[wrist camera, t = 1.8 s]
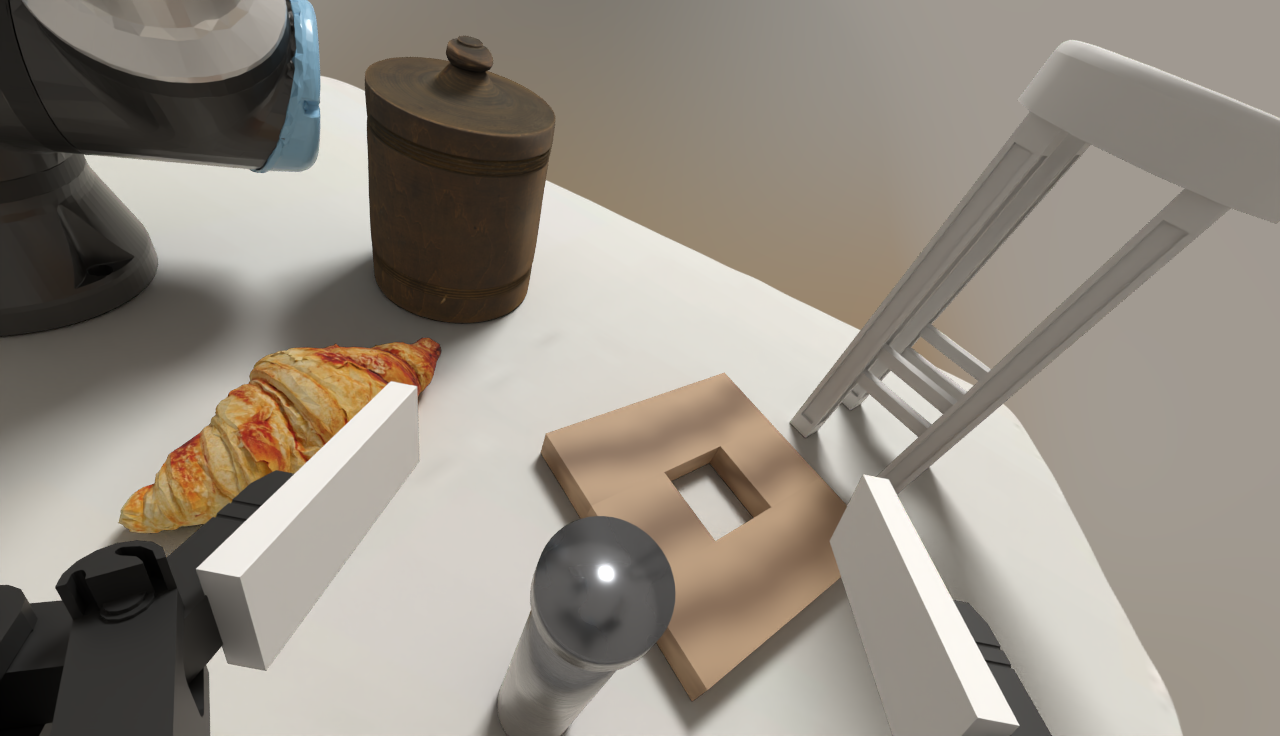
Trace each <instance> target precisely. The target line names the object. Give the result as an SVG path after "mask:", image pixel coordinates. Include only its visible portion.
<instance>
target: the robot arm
mask: <svg viewBox="0 0 1280 736" xmlns="http://www.w3.org/2000/svg"><path fill="white" fill-rule="evenodd" d="M319 103H320V61H319V43H318V32H317V22H316V15H315V12H314V9H313V6H312V5H311V3H310V2H309V1H308V0H0V336H6V335H16V334H25V333H32V332H38V331H44V330H49V329H54V328H58V327H62V326H66V325H70V324H74V323H77V322H81V321H84V320H87V319H90V318H93V317H95V316H98V315H101V314H103V313H105V312H108V311H110V310H112V309H114V308H116V307H118V306H120V305H122V304H124V303H125V302H127V301H129V300H130V299H132V298H133V297H135V296H136V295H137V294H139V293H140V292H141V291H142V290H143V289H144V288H145V287H146V286H147V285H148V284H149V283H150V282H151V280H152V279H153V277H154V276H155V273H156V271H157V267H158V258H157V254H156V252H155V249H154V247H153V244H152V242H151V239H150V237H149V234H148V232H147V231H146V229H145V228H144V226H143V224H142V223H141V222H140V221H139V220H138V219H137V218H136V217H135V215H134V214H133V213H132V212H131V211H130V210H129V209H128V208H127V207H126V206H125V205H124V204H123V203H122V201H121V200H120V199H119V198H118V197H117V196H116V195H115V194H114V193H113V192H112V191H111V190H110V188H109V187H108V186H107V185H106V184H105V183H104V182H103V181H102V180H101V179H100V178H99V177H98V175H97V174H96V173H95V172H94V171H93V170H92V169H91V168H90V166H89V165H88V163H87V161H86V159H85V157H84V155H83V154H85V155H98V156H109V157H120V158H132V159H143V160H154V161H165V162H176V163H188V164H199V165H210V166H221V167H233V168H244V169H250V170H251V171H253V172H257V173H265V172H267V171H289V172H300V171H304V170H307V169H309V168H310V167H311V166H312V165H313V164H314V163H315V161H316V159H317V156H318V151H319V141H320V108H319ZM418 463H419V427H418V394H417V386H413V385H408V384H402V383H397V382H392V381H391V382H390V383H389V384H387V385H386V386H385V387H384V388H383V389H382V390H381V391H380V392H379V393H378V394H377V395H376V396H375V397H374V398H373V399H372V400H371V401H370V402H369V403H368V404H367V405H366V406H365V407H364V408H363V409H362V410H360V411H359V412H358V413H357V414H356V415H355V416H354V417H353V418H352V419H351V420H350V421H349V422H348V423H347V424H346V425H345V426H344V427H343V428H342V429H341V430H340V431H339V432H338V433H337V434H336V435H334V436H333V437H332V438H331V439H330V440H329V441H328V442H327V443H326V444H325V445H324V446H323V447H322V448H321V449H320V450H319V451H318V452H317V453H316V454H315V455H314V456H313V457H312V458H311V459H310V460H309V461H307V462H306V463H305V464H304V465H303V466H302V467H301V468H300V469H299V470H298V471H297V472H296V473H295V474H294V473H289V472H284V471H278V470H275V471H273V472H271V473H269V474H267V475H265V476H263V477H262V478H260V479H258V480H256V481H254V482H252V483H250V484H249V485H248V486H247V487H246V488H245V489H244V490H242V491H241V492H240V493H239V494H238V495H237V496H236V497H235V498H233V499H232V502H231V503H228V504H227V505H226V506H224V507H223V508H222V509H221V510H220V511H219V512H218V513H217V515H216V517H212V518H211V519H210V520H209V521H207V522H206V523H205V524H204V525H203V526H202V527H201V528H200V529H198V530H197V531H196V532H195V533H194V534H193V535H192V536H191V537H189V538H188V539H187V540H186V541H185V542H184V543H183V544H182V545H180V546H179V547H178V548H177V549H176V550H175V551H174V552H173V553H171V554H170V555H169V556H168V557H167V558H166V555H165V553H164V550H163V547H161V546H159V545H157V544H155V543H154V542H149V541H138V540H136V541H129V542H123V543H117V544H114V545H111V546H108V547H105V548H102V549H99V550H96V551H95V552H93V553H91V554H89V555H87V556H86V557H84V558H82V559H80V560H78V561H77V562H76V563H75V564H73V565H72V566H71V567H70V568H69V569H68V570H67V571H65V572H64V573H63V574H62V576H61V578H60V579H59V581H58V583H57V585H56V587H55V588H56V590H57V592H58V593H59V595H60V597H61V599H62V601H52V602H41V603H30V604H29V602H28V600H27V599H26V597H25V595H24V594H23V592H22V590H21V589H19V588H16V587H13V586H10V585H0V736H210V704H209V672H208V669H207V666H206V664H207V663H208V662H209V660H210V659H211V658H212V657H213V656H214V655H215V653H216V652H217V651H218V650H219V649H220V647H221V646H222V648H223V651H224V654H225V657H226V660H227V663H228V664H233V665H238V666H243V667H248V668H254V669H259V670H264V671H266V670H267V669H268V668H269V666H270V665H271V663H272V662H273V661H274V659H275V658H276V657H277V655H278V654H279V653H280V651H281V650H282V648H283V647H284V646H285V644H286V643H287V642H288V640H289V639H290V638H291V636H292V635H293V633H294V632H295V631H296V629H297V628H298V627H299V625H300V624H301V622H302V621H303V620H304V618H305V617H306V616H307V614H308V613H309V612H310V610H311V609H312V607H313V606H314V605H315V603H316V602H317V601H318V599H319V598H320V597H321V595H322V594H323V592H324V591H325V590H326V588H327V587H328V586H329V584H330V583H331V581H332V580H333V579H334V577H335V576H336V575H337V573H338V572H339V571H340V569H341V568H342V566H343V565H344V564H345V562H346V561H347V560H348V558H349V557H350V556H351V554H352V553H353V551H354V550H355V549H356V547H357V546H358V545H359V543H360V542H361V540H362V539H363V538H364V536H365V535H366V534H367V532H368V531H369V530H370V528H371V527H372V525H373V524H374V523H375V521H376V520H377V519H378V517H379V516H380V515H381V513H382V512H383V510H384V509H385V508H386V506H387V505H388V504H389V502H390V501H391V499H392V498H393V497H394V495H395V494H396V493H397V491H398V490H399V489H400V487H401V486H402V484H403V483H404V482H405V480H406V479H407V478H408V476H409V475H410V474H411V472H412V471H413V469H414V468H415V467H416V465H417V464H418ZM830 544H831V547H832V550H833V553H834V556H835V559H836V562H837V566H838V569H839V572H840V575H841V578H842V581H843V584H844V587H845V590H846V593H847V596H848V599H849V603H850V606H851V609H852V612H853V615H854V618H855V621H856V624H857V627H858V630H859V633H860V637H861V640H862V643H863V646H864V649H865V652H866V655H867V658H868V661H869V664H870V667H871V670H872V674H873V677H874V680H875V683H876V686H877V689H878V692H879V695H880V698H881V701H882V704H883V707H884V711H885V714H886V717H887V720H888V723H889V726H890V729H891V732H892V735H893V736H1052V735H1051V734H1050V732H1049V730H1048V728H1047V727H1046V725H1045V723H1044V721H1043V720H1042V718H1041V716H1040V714H1039V713H1038V711H1037V709H1036V707H1035V706H1034V704H1033V702H1032V700H1031V699H1030V697H1029V695H1028V693H1027V692H1026V690H1025V688H1024V686H1023V685H1022V683H1021V681H1020V679H1019V678H1018V676H1017V674H1016V672H1015V671H1014V669H1011V664H1010V662H1009V660H1008V659H1007V657H1006V655H1005V653H1004V652H1003V651H1002V650H1000V645H999V643H998V641H997V639H996V638H995V636H994V634H993V632H992V631H991V629H990V627H989V625H988V624H987V623H986V622H985V621H984V619H983V618H982V617H981V616H980V615H979V614H978V613H977V612H976V611H975V610H974V609H973V608H972V606H971V605H970V604H969V603H966V602H961V601H956V600H953V599H952V597H951V596H950V594H949V592H948V590H947V588H946V586H945V584H944V582H943V581H942V579H941V577H940V575H939V573H938V571H937V569H936V567H935V565H934V564H933V562H932V560H931V558H930V556H929V554H928V552H927V550H926V549H925V547H924V545H923V543H922V541H921V539H920V537H919V535H918V533H917V532H916V530H915V528H914V526H913V524H912V522H911V520H910V518H909V517H908V515H907V513H906V511H905V509H904V507H903V505H902V503H901V501H900V500H899V498H898V496H897V494H896V492H895V490H894V488H893V486H892V485H891V483H890V481H889V479H884V478H879V477H874V476H869V475H864V474H863V476H862V478H861V480H860V482H859V484H858V486H857V488H856V490H855V492H854V494H853V496H852V498H851V500H850V502H849V504H848V506H847V508H846V510H845V512H844V514H843V516H842V517H841V519H840V521H839V523H838V525H837V527H836V529H835V531H834V533H833V535H832V537H831V539H830Z"/></svg>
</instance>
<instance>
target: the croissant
mask: <svg viewBox="0 0 1280 736" xmlns="http://www.w3.org/2000/svg"><path fill="white" fill-rule="evenodd" d="M440 354H441V347H440V345H439V344H438V343H436V342H435V341H433V340H432V339H430V338H421V339H419V340H418V341H417V342H415V343H414V344H410V345H409V344H405V343H404V342H394V343H388V344H383V345H379V346H378V345H375V347H372V348H363V347H339V346H338V345H337V344H334V345H333V346H328V347H326V348H322V349H320V348H290V349H288V350H287V351H278V352H276V353H274V354H270V355H267V356H265V357H263V358H262V359H261V360H259V361H258V362H257V363H256V364H255V365H254V369H253V370H252V371H251V373H250V376H249V377H250V382H249V384H244V385H242V386H240V387H238V388H237V389H234V390H232V391H230V393H229V394H228V397H227V398H225V399H224V400H222V401H221V402H220V403H219V404H218V405H217V407H216V412H215V413H216V415H215V416H214V417H213V418H212V419H211V423H210V424H209V425H208V426H207V427H205V428H204V429H203V430H202V431H201V432H200V433H199V434H198V435H196V436H195V437H193V438H192V439H191V440H189V441H188V442H186V443H185V444H183V445H182V446H181V447H179V448H177V449H176V450H174V451H173V452H171V453H170V454H169V455H168V457H167V460H166V462H165V463H164V464H163V466H162V467H161V470H160V471H159V472H158V473H157V474H156V477H155V484H152V485H149V486H146V487H143V488H141V489H140V490H138V491H137V492H135V493H134V494H132V495H131V497H130V498H129V499H128V500H127V502H126V503H125V505H124V506H123V507H122V509H121V515H120V519H119V522H118V523H120V524H122V525H124V527H125V528H128V529H130V531H129V532H137V533H158V532H160V531H162V530H176V529H177V528H179V527H180V526H191V525H199V524H205V523H206V522H207V521H209V520H210V519H211V518H212V517H216V515H217V513H218V512H219V511H220V510H221V509H222V508H223V507H224V506H226V505H227V504H228V503H231V502H232V499H233V498H235V497H236V496H237V495H238V494H239V493H240V492H241V491H242V490H244V489H245V488H246V487H247V486H248V485H249V484H250V483H252V482H254V481H256V480H258V479H260V478H262V477H263V476H265V475H267V474H269V473H271V472H273V471H275V470H278V471H284V472H289V473H294V474H295V473H296V472H297V471H298V470H299V469H300V468H301V467H302V466H303V465H304V464H305V463H306V462H307V461H309V460H310V459H311V458H312V457H313V456H314V455H315V454H316V453H317V452H318V451H319V450H320V449H321V448H322V447H323V446H324V445H325V444H326V443H327V442H328V441H329V440H330V439H331V438H332V437H333V436H334V435H336V434H337V433H338V432H339V431H340V430H341V429H342V428H343V427H344V426H345V425H346V424H347V423H348V422H349V421H350V420H351V419H352V418H353V417H354V416H355V415H356V414H357V413H358V412H359V411H360V410H362V409H363V408H364V407H365V406H366V405H367V404H368V403H369V402H370V401H371V400H372V399H373V398H374V397H375V396H376V395H377V394H378V393H379V392H380V391H381V390H382V389H383V388H384V387H385V386H386V385H387V384H389V383H390V382H391V381H392V382H397V383H402V384H408V385H413V386H417V394H418V396H419V394H420V392H422V391H423V390H424V389H425V388H426V387H427V386H428V385H429V383H430V382H431V380H432V377H433V375H434V371H435V366H436V362H437V360H438V358H439V356H440Z"/></svg>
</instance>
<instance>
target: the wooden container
mask: <svg viewBox="0 0 1280 736" xmlns="http://www.w3.org/2000/svg"><path fill="white" fill-rule="evenodd" d="M446 55H447V58H448V60H449V61H446V60H439V59H432V58H421V57H399V58H389V59H385V60H382V61H379V62H376V63H374V64H372V65H371V66H369V67H368V69H367V70H366V73H365V96H366V108H367V144H368V170H369V203H370V225H371V239H372V248H373V262H374V273H375V278H376V281H377V284H378V286H379V287H380V289H381V291H382V292H383V293H384V294H385V295H386V296H387V297H388V298H389V299H390V300H391V301H392V302H393V303H395V304H397V305H398V306H400V307H402V308H403V309H405V310H407V311H410V312H412V313H414V314H417V315H419V316H422V317H426V318H429V319H434V320H438V321H443V322H453V323H472V322H482V321H487V320H492V319H495V318H498V317H501V316H503V315H506V314H508V313H510V312H511V311H513V310H514V309H515V308H516V307H517V306H519V305H520V304H521V302H522V301H523V300H524V298H525V296H526V294H527V290H528V285H529V280H530V274H531V268H532V262H533V259H534V253H535V247H536V242H537V235H538V228H539V221H540V214H541V207H542V200H543V193H544V187H545V181H546V174H547V168H548V162H549V155H550V152H551V147H552V142H553V136H554V128H555V115H554V112H553V110H552V109H551V107H550V106H549V105H548V104H547V103H546V102H545V101H544V100H543V99H542V98H540V97H539V96H538V95H537V94H535V93H534V92H532V91H531V90H529V89H527V88H525V87H524V86H522V85H520V84H518V83H516V82H514V81H512V80H509V79H507V78H505V77H502V76H499V75H497V74H494V73H492V72H488V70H490V68H491V67H492V65H493V57H492V55H491V53H490V51H489V50H488V49H487V48H486V47H485V46H483V43H482V42H481V41H480V40H478V39H475V38H472V37H469V36H459V37H458V39H452V40H451V41H449V42H448V45H447V50H446Z"/></svg>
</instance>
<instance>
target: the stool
mask: <svg viewBox="0 0 1280 736" xmlns="http://www.w3.org/2000/svg"><path fill="white" fill-rule="evenodd" d="M1018 101H1019V102H1020V103H1021V104H1022V105H1023V106H1025V107H1026V108H1027V109H1028V110H1029V111H1030V112H1029V114H1028V115H1027V116H1026V118H1025V119H1024V120H1023V122H1022V123H1021V124H1020V125H1019V127H1018V128H1017V129H1016V130H1015V132H1014V133H1013V134H1012V136H1011V137H1010V138H1009V140H1008V141H1007V142H1006V143H1005V145H1004V146H1003V147H1002V149H1001V150H1000V151H999V152H998V154H997V155H996V156H995V158H994V159H993V160H992V161H991V163H990V164H989V165H988V167H987V168H986V169H985V171H984V172H983V173H982V174H981V176H980V177H979V178H978V180H977V181H976V182H975V184H974V185H973V186H972V187H971V189H970V190H969V191H968V193H967V194H966V195H965V196H964V198H963V199H962V200H961V201H960V203H959V204H958V205H957V207H956V208H955V209H954V211H953V212H952V213H951V214H950V216H949V217H948V218H947V220H946V221H945V222H944V223H943V225H942V226H941V227H940V229H939V230H938V231H937V233H936V234H935V235H934V236H933V238H932V239H931V240H930V242H929V243H928V244H927V246H926V247H925V248H924V249H923V251H922V252H921V253H920V254H919V256H918V257H917V259H916V260H915V261H914V262H913V264H912V265H911V266H910V268H909V269H908V270H907V271H906V273H905V274H904V275H903V276H902V278H901V279H900V280H899V282H898V283H897V284H896V286H895V287H894V288H893V289H892V291H891V292H890V293H889V295H888V296H887V297H886V299H885V300H884V301H883V302H882V304H881V305H880V306H879V307H878V309H877V310H876V311H875V313H874V314H873V315H872V317H871V318H870V319H869V320H868V322H867V323H866V324H865V326H864V327H863V328H862V329H861V331H860V332H859V333H858V335H857V336H856V337H855V338H854V340H853V341H852V342H851V344H850V345H849V346H848V348H847V349H846V350H845V351H844V353H843V354H842V355H841V357H840V358H839V359H838V360H837V362H836V363H835V364H834V366H833V367H832V368H831V370H830V371H829V372H828V373H827V375H826V376H825V377H824V379H823V380H822V381H821V382H820V384H819V385H818V386H817V388H816V389H815V390H814V391H813V393H812V394H811V395H810V397H809V398H808V399H807V401H806V402H805V403H804V404H803V406H802V407H801V408H800V410H799V411H798V412H797V413H796V415H795V416H794V417H793V419H792V420H791V421H790V423H791V424H792V425H793V426H794V427H795V428H796V429H797V430H798V431H799V432H800V433H801V434H802V435H803V436H804V437H805V438H806V437H808V436H809V435H811V434H813V433H814V432H816V431H818V430H819V428H820V427H821V426H822V425H823V424H824V423H825V421H826V420H827V419H828V418H829V417H830V415H831V414H832V413H833V412H834V411H835V409H836V408H837V407H838V406H839V405H840V404H841V402H842V403H843V404H844V405H845V406H846V407H847V408H849V409H850V410H852V409H854V408H855V407H857V406H859V405H860V404H861V403H862V402H863V401H864V400H865V399H866V398H867V397H868V395H869V394H870V395H871V396H872V397H873V398H875V399H876V400H877V401H878V402H879V403H880V404H881V405H883V406H884V407H885V408H886V409H887V410H888V411H889V412H890V413H892V414H893V415H894V416H895V417H896V418H897V419H898V420H900V421H901V422H902V423H903V424H904V425H905V426H906V427H908V428H909V429H910V430H911V431H912V432H913V433H914V434H916V435H917V436H918V438H917V439H916V440H915V441H914V442H913V443H912V444H911V445H910V446H909V447H908V448H907V449H905V450H904V451H903V452H902V453H901V454H900V455H899V456H898V457H897V458H896V459H895V460H894V461H893V462H892V463H890V464H889V465H888V466H887V467H886V468H885V469H884V470H883V471H882V472H881V473H880V474H879V475H878V476H877V477H879V478H884V479H889V481H890V483H891V485H892V486H893V488H894V490H895V492H896V494H898V493H899V492H900V491H902V490H903V489H904V488H905V487H906V486H907V485H909V484H910V483H911V482H912V481H913V480H914V479H916V478H917V477H918V476H919V475H920V474H921V473H923V472H924V471H925V470H926V469H927V468H928V467H930V466H931V465H932V464H933V463H934V462H935V461H937V460H938V459H939V458H940V457H941V456H942V455H944V454H945V453H946V452H947V451H948V450H949V449H951V448H952V447H953V446H954V445H955V444H956V443H958V442H959V441H960V440H961V439H962V438H963V437H965V436H966V435H967V434H968V433H969V432H970V431H972V430H973V429H974V428H975V427H976V426H977V425H979V424H980V423H981V422H982V421H983V420H984V419H986V418H987V417H988V416H989V415H990V414H992V413H993V412H994V411H995V410H996V409H997V408H999V407H1000V406H1001V405H1002V404H1003V403H1004V402H1005V401H1007V400H1008V399H1009V398H1010V397H1011V396H1013V394H1015V393H1016V392H1017V391H1018V390H1019V389H1021V388H1022V387H1023V386H1024V385H1025V384H1027V383H1028V382H1029V381H1030V380H1031V379H1032V378H1033V377H1034V376H1036V375H1037V374H1038V373H1039V372H1041V371H1042V370H1043V369H1044V368H1045V367H1046V366H1048V365H1049V364H1050V363H1051V362H1052V361H1053V360H1054V359H1056V358H1057V357H1058V356H1059V355H1060V354H1061V353H1063V352H1064V351H1065V350H1066V349H1067V348H1068V347H1070V346H1071V345H1072V344H1073V343H1074V342H1075V341H1077V340H1078V339H1079V338H1080V337H1081V336H1083V335H1084V334H1085V333H1086V332H1087V331H1088V330H1090V329H1091V328H1092V327H1093V326H1094V325H1095V324H1097V323H1098V322H1099V321H1100V320H1101V319H1102V318H1103V317H1105V316H1106V315H1107V314H1108V313H1109V312H1111V311H1112V310H1113V309H1114V308H1115V307H1116V306H1117V305H1119V304H1120V303H1121V302H1122V301H1123V300H1125V299H1126V298H1127V297H1128V296H1129V295H1130V294H1132V293H1133V292H1134V291H1135V290H1136V289H1137V288H1139V287H1140V286H1141V285H1142V284H1143V283H1144V282H1146V281H1147V280H1148V279H1149V278H1150V277H1151V276H1153V275H1154V274H1155V273H1156V272H1157V271H1158V270H1159V269H1160V268H1162V267H1163V266H1164V265H1165V264H1166V263H1168V262H1169V261H1170V260H1171V259H1172V258H1173V257H1175V256H1176V255H1177V254H1178V253H1179V252H1181V251H1182V250H1183V249H1184V248H1185V247H1186V246H1188V245H1189V244H1190V243H1191V242H1192V241H1193V240H1195V239H1196V238H1197V237H1198V236H1199V235H1200V234H1201V233H1203V232H1204V231H1205V230H1206V229H1207V228H1209V227H1210V226H1211V225H1212V224H1213V223H1214V222H1215V221H1217V220H1218V219H1219V218H1220V217H1221V216H1223V215H1224V214H1225V213H1226V212H1227V211H1228V210H1230V209H1231V208H1232V209H1235V210H1237V211H1241V212H1243V213H1246V214H1249V215H1252V216H1255V217H1258V218H1261V219H1264V220H1267V221H1270V222H1272V223H1275V224H1277V223H1278V222H1279V221H1280V118H1278V117H1276V116H1273V115H1271V114H1269V113H1266V112H1264V111H1261V110H1259V109H1256V108H1254V107H1251V106H1249V105H1247V104H1244V103H1242V102H1240V101H1237V100H1235V99H1232V98H1230V97H1228V96H1225V95H1222V94H1220V93H1217V92H1215V91H1212V90H1210V89H1207V88H1205V87H1202V86H1200V85H1197V84H1195V83H1192V82H1190V81H1187V80H1185V79H1182V78H1179V77H1177V76H1174V75H1172V74H1169V73H1167V72H1164V71H1162V70H1159V69H1157V68H1154V67H1152V66H1148V65H1146V64H1144V63H1141V62H1138V61H1136V60H1133V59H1130V58H1127V57H1125V56H1122V55H1119V54H1117V53H1114V52H1111V51H1108V50H1106V49H1103V48H1101V47H1098V46H1094V45H1091V44H1088V43H1084V42H1081V41H1076V40H1068V41H1066V42H1063V43H1062V44H1060V45H1059V47H1057V48H1056V49H1055V51H1054V52H1053V53H1052V55H1051V56H1050V57H1049V59H1048V60H1047V61H1046V63H1045V64H1044V65H1043V67H1042V68H1041V69H1040V71H1039V72H1038V74H1037V75H1036V76H1035V77H1034V79H1033V80H1032V81H1031V83H1030V84H1029V85H1028V87H1027V88H1026V89H1025V91H1024V92H1023V93H1022V95H1021V96H1020V97H1019V99H1018ZM1090 145H1093V146H1095V147H1098V148H1100V149H1102V150H1104V151H1106V152H1108V153H1110V154H1112V155H1114V156H1116V157H1118V158H1120V159H1122V160H1124V161H1126V162H1129V163H1130V164H1133V165H1135V166H1137V167H1139V168H1141V169H1143V170H1145V171H1147V172H1149V173H1151V174H1153V175H1155V176H1158V177H1160V178H1162V179H1165V180H1167V181H1169V182H1172V183H1174V184H1176V185H1178V186H1181V187H1183V188H1185V189H1184V190H1183V191H1182V192H1181V193H1180V194H1179V195H1178V196H1177V197H1175V198H1174V199H1173V200H1172V201H1171V202H1170V203H1169V204H1168V205H1167V206H1166V207H1165V208H1164V209H1163V210H1161V211H1160V212H1159V213H1158V214H1157V215H1156V216H1155V217H1154V218H1153V219H1152V220H1151V221H1150V222H1149V223H1148V224H1146V225H1145V226H1144V227H1143V228H1142V229H1141V230H1140V231H1139V232H1138V233H1137V234H1136V235H1135V236H1134V237H1133V238H1132V239H1131V240H1129V241H1128V242H1127V243H1126V244H1125V245H1124V246H1123V247H1122V248H1121V249H1120V250H1119V251H1118V252H1117V253H1115V254H1114V255H1113V256H1112V257H1111V258H1110V259H1109V260H1108V261H1107V262H1106V263H1105V264H1104V265H1103V266H1102V267H1100V268H1099V269H1098V270H1097V271H1096V272H1095V273H1094V274H1093V275H1092V276H1091V277H1090V278H1089V279H1088V280H1087V281H1086V282H1084V283H1083V284H1082V285H1081V286H1080V287H1079V288H1078V289H1077V290H1076V291H1075V292H1074V293H1073V294H1071V295H1070V296H1069V297H1068V298H1067V299H1066V300H1065V301H1064V302H1063V303H1062V304H1061V305H1060V306H1059V307H1058V308H1056V310H1055V311H1053V312H1052V313H1051V314H1050V315H1049V316H1048V317H1047V318H1046V319H1045V320H1044V321H1043V322H1042V323H1041V324H1039V325H1038V326H1037V327H1036V328H1035V329H1034V330H1033V331H1032V332H1031V333H1030V334H1029V335H1028V336H1027V337H1025V338H1024V339H1023V340H1022V341H1021V342H1020V343H1019V344H1018V345H1017V346H1016V347H1015V348H1014V349H1013V350H1012V351H1010V352H1009V353H1008V354H1007V355H1006V356H1005V357H1004V358H1003V359H1002V360H1001V361H1000V362H999V363H998V364H997V365H995V366H994V367H993V368H992V369H990V368H988V367H987V366H986V365H984V364H983V363H982V362H980V361H979V360H978V359H976V358H975V357H974V356H972V355H971V354H970V353H968V352H967V351H966V350H964V349H963V348H962V347H961V346H959V345H958V344H957V343H955V342H954V341H953V340H951V339H950V338H949V337H947V336H946V335H945V334H943V333H942V332H941V331H939V330H938V329H936V328H935V327H934V326H933V325H931V324H932V323H933V322H934V321H935V320H936V319H937V318H938V317H939V315H940V314H941V313H942V312H943V311H944V310H945V309H946V307H947V306H948V305H949V304H950V303H951V302H952V301H953V300H954V299H955V297H956V296H957V295H958V294H959V293H960V292H961V291H962V289H963V288H964V287H965V286H966V285H967V284H968V283H969V281H970V280H971V279H972V278H973V277H974V276H975V275H976V274H977V273H978V271H979V270H980V269H981V268H982V267H983V266H984V265H985V264H986V262H987V261H988V260H989V259H990V258H991V257H992V256H993V254H994V253H995V252H996V251H997V250H998V249H999V248H1000V247H1001V245H1002V244H1003V243H1004V242H1005V241H1006V240H1007V238H1009V236H1010V235H1011V234H1012V233H1013V232H1014V231H1015V230H1016V229H1017V227H1018V226H1019V225H1020V224H1021V223H1022V222H1023V221H1024V220H1025V218H1026V217H1027V216H1028V215H1029V214H1030V213H1031V212H1032V210H1033V209H1034V208H1035V207H1036V206H1037V205H1038V204H1039V203H1040V201H1041V200H1042V199H1043V198H1044V197H1045V196H1046V195H1047V194H1048V193H1049V191H1050V190H1051V189H1052V188H1053V187H1054V186H1055V185H1056V183H1057V182H1058V181H1059V180H1060V179H1061V178H1062V177H1063V175H1064V174H1065V173H1066V172H1067V171H1068V170H1069V169H1070V168H1071V167H1072V165H1073V164H1074V163H1075V162H1076V161H1077V160H1078V158H1079V157H1080V156H1081V155H1082V154H1083V153H1084V152H1085V151H1086V149H1087V148H1088V147H1089V146H1090ZM920 337H922V338H923V339H925V340H926V341H927V342H929V343H930V344H931V345H932V346H934V347H935V348H936V349H938V350H939V351H940V352H942V353H943V354H944V355H945V356H947V357H948V358H949V359H951V360H952V361H953V362H955V363H956V364H957V365H959V366H960V367H961V368H962V369H964V370H965V371H966V372H967V373H969V374H970V375H971V376H973V377H974V378H975V379H977V380H978V382H977V383H976V384H975V385H974V386H973V387H972V388H971V389H970V390H969V391H968V392H967V391H965V390H964V389H963V388H962V387H960V386H959V385H958V384H957V383H955V382H954V381H953V380H952V379H950V378H949V377H948V376H946V375H945V374H944V373H943V372H941V371H940V370H939V369H938V368H936V367H935V366H934V365H932V364H931V363H930V362H929V361H928V360H926V359H925V358H924V357H922V356H921V355H920V354H919V353H917V352H916V351H915V350H914V349H912V348H911V347H912V346H913V345H914V343H915V342H916V341H917V340H918V339H919V338H920ZM890 371H892V372H893V373H895V374H896V375H897V376H898V377H899V378H901V379H902V380H903V381H904V382H905V383H907V384H908V385H909V386H910V387H911V388H913V389H914V390H915V391H916V392H917V393H919V394H920V395H921V396H922V397H923V398H925V399H926V400H927V401H928V402H929V403H931V404H932V405H933V406H934V407H935V408H937V409H938V410H939V411H940V412H941V413H943V415H942V416H941V417H940V418H939V419H938V420H937V421H935V422H934V423H933V424H932V425H931V424H930V423H929V422H928V421H927V420H926V419H924V418H923V417H922V416H921V415H920V414H919V413H917V412H916V411H915V410H914V409H913V408H912V407H910V406H909V405H908V404H907V403H906V402H905V401H903V400H902V399H901V398H900V397H899V396H898V395H896V394H895V393H894V392H893V391H892V390H891V389H889V388H888V387H887V386H886V385H885V384H884V383H882V382H881V381H882V380H883V379H884V377H885V376H886V375H887V374H888V373H889V372H890Z"/></svg>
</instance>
